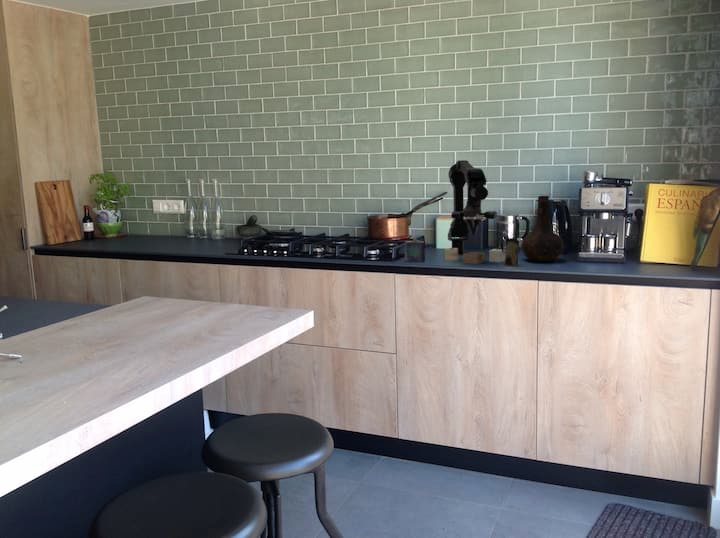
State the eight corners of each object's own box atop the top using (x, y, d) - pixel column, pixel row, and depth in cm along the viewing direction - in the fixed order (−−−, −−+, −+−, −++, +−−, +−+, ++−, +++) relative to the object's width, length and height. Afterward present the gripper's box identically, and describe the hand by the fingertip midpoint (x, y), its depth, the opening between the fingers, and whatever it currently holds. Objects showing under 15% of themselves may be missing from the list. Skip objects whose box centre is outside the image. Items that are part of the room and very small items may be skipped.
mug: (520, 265, 281) (521, 236, 279) (512, 266, 277) (513, 238, 275) (505, 263, 287) (505, 235, 285) (497, 264, 283) (497, 236, 281)
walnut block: (470, 260, 297) (470, 251, 296) (484, 262, 292) (484, 252, 292) (462, 263, 291) (462, 254, 290) (477, 264, 287) (477, 255, 286)
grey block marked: (494, 260, 296) (495, 248, 295) (505, 261, 293) (505, 249, 292) (489, 261, 292) (489, 250, 291) (499, 262, 289) (499, 251, 288)
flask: (404, 261, 298) (403, 237, 296) (406, 260, 300) (406, 236, 298) (423, 262, 294) (423, 238, 292) (426, 261, 296) (425, 237, 294)
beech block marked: (446, 258, 302) (446, 247, 301) (457, 259, 301) (457, 247, 300) (445, 260, 297) (445, 249, 296) (456, 261, 296) (456, 249, 295)
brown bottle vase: (539, 265, 279) (540, 198, 274) (512, 259, 295) (513, 195, 290) (572, 261, 286) (574, 195, 281) (545, 255, 302) (546, 193, 298)
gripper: (447, 199, 284) (447, 236, 286) (490, 200, 276) (490, 237, 278) (455, 197, 294) (455, 233, 296) (497, 198, 286) (497, 234, 288)
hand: (474, 234), depth 290 cm, fingers closed
